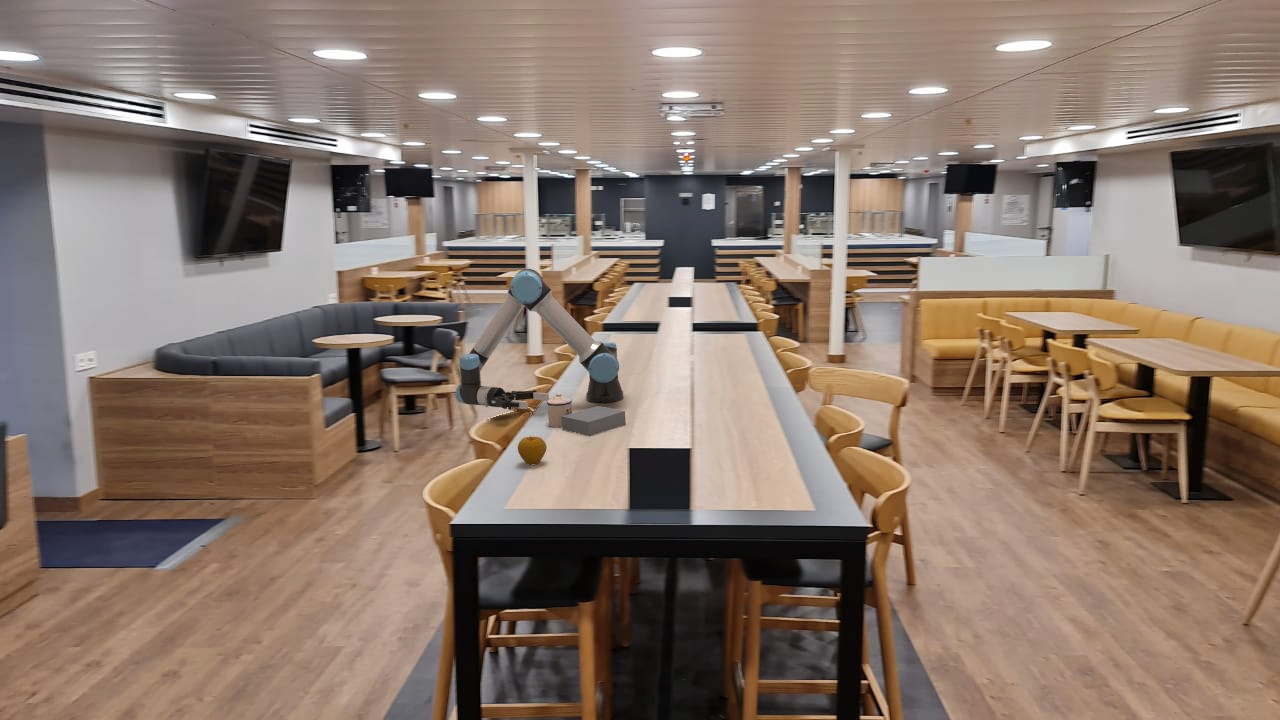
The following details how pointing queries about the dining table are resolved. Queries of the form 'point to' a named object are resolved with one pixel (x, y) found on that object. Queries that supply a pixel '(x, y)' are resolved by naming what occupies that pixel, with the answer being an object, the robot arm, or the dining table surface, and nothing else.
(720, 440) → the dining table surface
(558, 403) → the teacup with lid
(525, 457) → the apple
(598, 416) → the charcoal rectangular block
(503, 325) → the robot arm
